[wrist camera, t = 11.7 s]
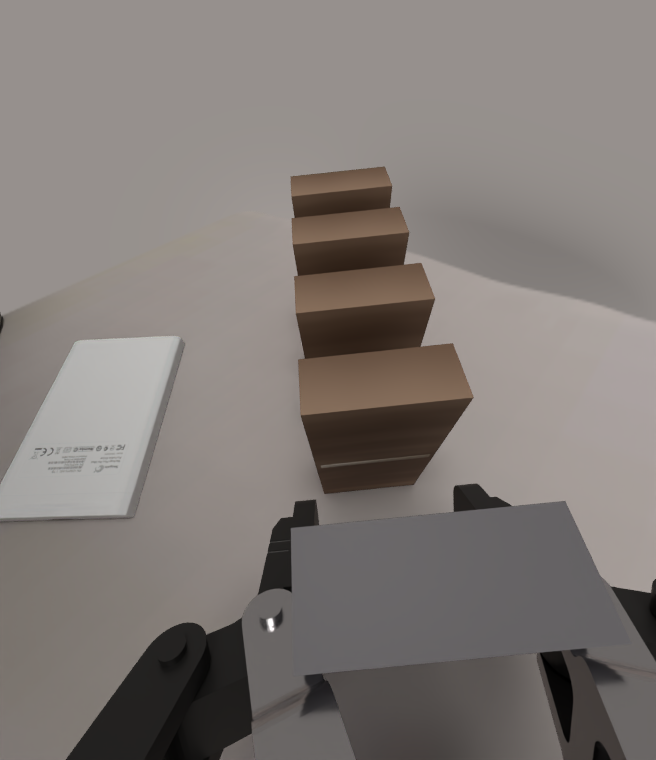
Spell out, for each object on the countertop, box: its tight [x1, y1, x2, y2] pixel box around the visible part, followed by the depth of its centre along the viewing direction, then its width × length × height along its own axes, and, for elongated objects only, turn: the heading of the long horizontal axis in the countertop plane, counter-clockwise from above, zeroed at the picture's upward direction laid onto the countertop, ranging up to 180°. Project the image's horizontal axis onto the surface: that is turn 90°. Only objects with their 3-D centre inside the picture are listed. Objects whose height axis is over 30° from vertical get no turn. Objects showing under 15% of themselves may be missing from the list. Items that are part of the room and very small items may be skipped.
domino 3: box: [294, 263, 435, 359], centre depth 16 cm, size 2×5×10 cm, turn 95°
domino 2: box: [292, 207, 409, 276], centre depth 18 cm, size 2×5×10 cm, turn 95°
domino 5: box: [291, 501, 632, 676], centre depth 9 cm, size 2×5×10 cm, turn 95°
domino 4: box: [298, 343, 474, 494], centre depth 14 cm, size 2×5×10 cm, turn 95°
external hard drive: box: [0, 336, 185, 521], centre depth 21 cm, size 2×8×12 cm
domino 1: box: [291, 167, 392, 218], centre depth 20 cm, size 2×5×10 cm, turn 95°
